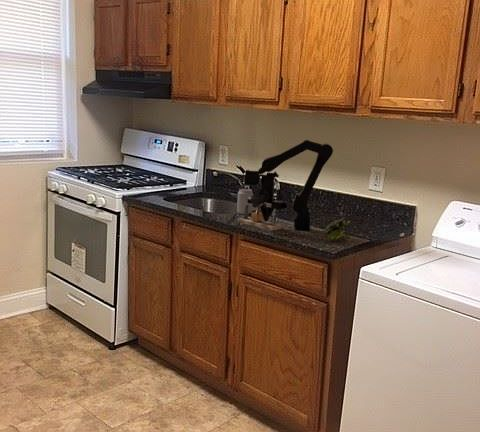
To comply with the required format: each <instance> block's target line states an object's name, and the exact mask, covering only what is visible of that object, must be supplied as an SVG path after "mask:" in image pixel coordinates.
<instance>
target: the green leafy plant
mask: <svg viewBox="0 0 480 432" xmlns="http://www.w3.org/2000/svg"><path fill="white" fill-rule="evenodd" d="M328 222H329V224H327V225H326V227H325V228H324V231H326V232H325V234H324V235H325V236H327V241H328V242H330V241H333V240H338V239H339V238H340V237H341V236H344V237H345V240H344V241H347V238H348V239H350V236H349V234H348V232H349V229H350V227H351V225H352V222H351V221H350V220H348V221H346V219H345V216H344V217H342V218H339V217H336V216H333V218H332V217H331V218H329V221H328ZM345 227H347V230H344V228H345Z"/></svg>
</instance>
